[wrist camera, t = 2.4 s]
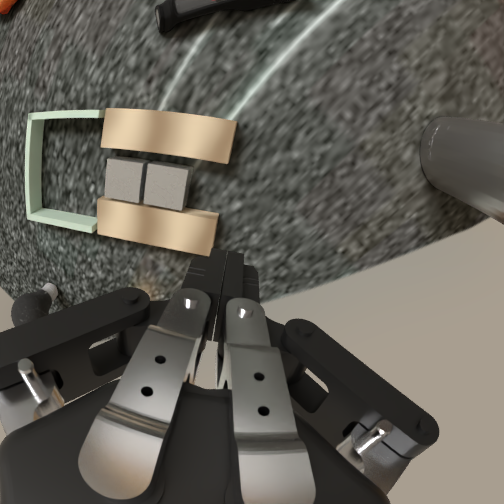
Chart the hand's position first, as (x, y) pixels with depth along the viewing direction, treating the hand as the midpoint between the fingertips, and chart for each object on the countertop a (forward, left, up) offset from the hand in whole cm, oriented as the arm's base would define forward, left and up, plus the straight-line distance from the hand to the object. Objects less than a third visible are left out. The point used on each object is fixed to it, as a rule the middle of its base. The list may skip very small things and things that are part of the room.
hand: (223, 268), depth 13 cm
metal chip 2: (+7, 0, -16) cm, 17 cm away
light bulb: (+24, +18, -16) cm, 34 cm away
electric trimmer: (+5, -20, -16) cm, 26 cm away
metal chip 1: (+11, 0, -16) cm, 20 cm away
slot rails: (+8, 0, -16) cm, 18 cm away
